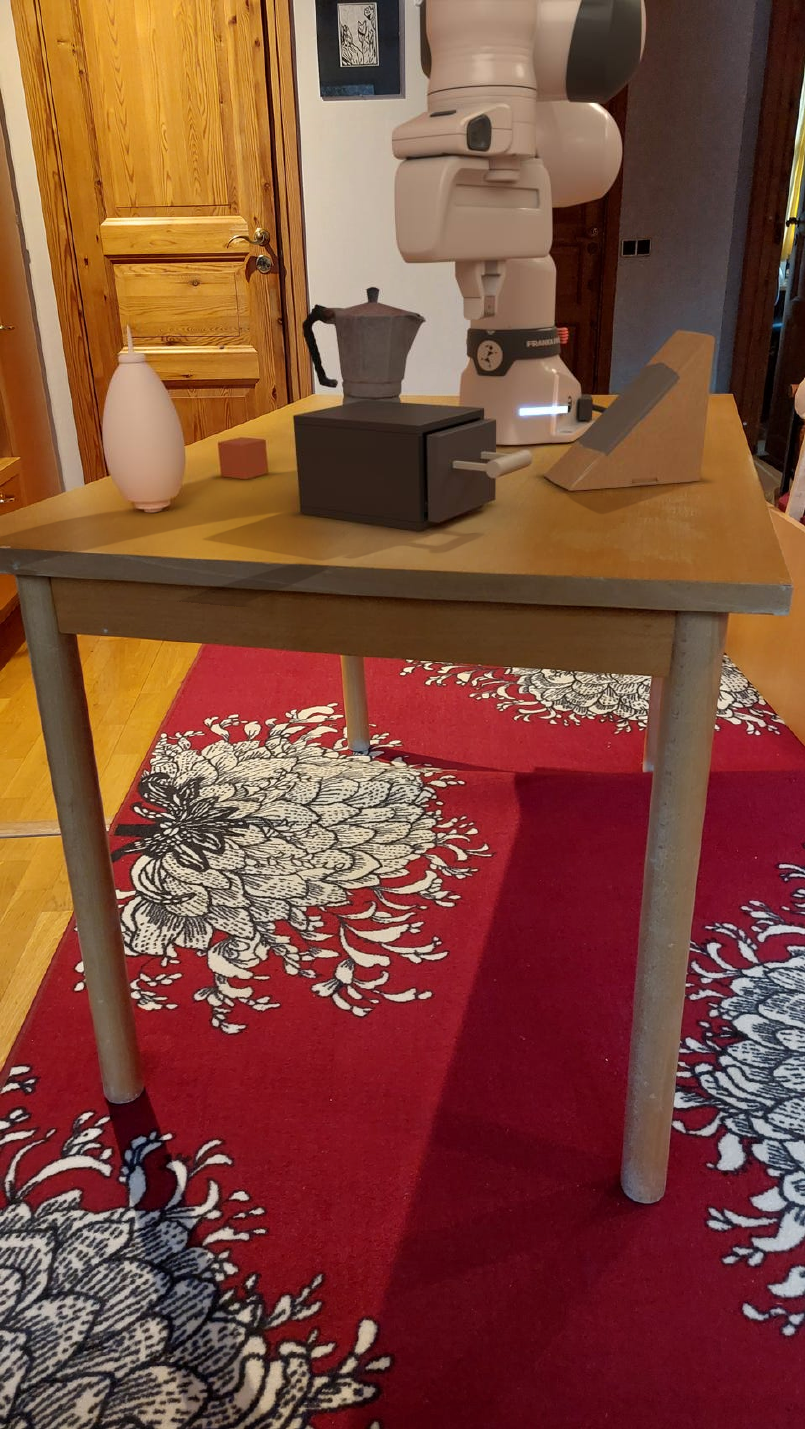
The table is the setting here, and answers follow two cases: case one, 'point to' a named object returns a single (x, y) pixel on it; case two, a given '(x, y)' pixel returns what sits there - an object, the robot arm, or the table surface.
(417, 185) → the robot arm
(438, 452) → the sliding drawer unit
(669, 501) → the table surface
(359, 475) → the dark drawer cabinet
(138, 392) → the air blower bulb
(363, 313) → the moka pot
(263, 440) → the block
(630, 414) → the sandwich container
